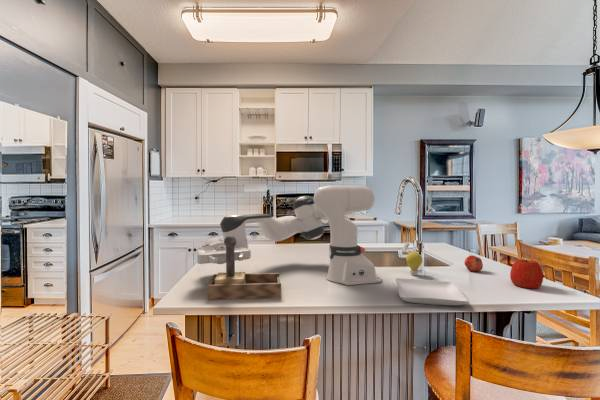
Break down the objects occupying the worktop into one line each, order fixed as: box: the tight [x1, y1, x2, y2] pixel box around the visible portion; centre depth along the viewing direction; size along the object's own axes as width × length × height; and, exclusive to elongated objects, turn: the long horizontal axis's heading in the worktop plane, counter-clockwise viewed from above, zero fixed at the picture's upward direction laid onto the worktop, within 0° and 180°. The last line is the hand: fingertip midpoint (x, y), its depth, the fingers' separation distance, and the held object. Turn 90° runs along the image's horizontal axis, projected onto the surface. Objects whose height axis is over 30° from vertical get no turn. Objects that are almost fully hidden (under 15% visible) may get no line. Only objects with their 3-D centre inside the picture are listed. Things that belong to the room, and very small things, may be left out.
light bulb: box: [405, 251, 423, 276], centre depth 145 cm, size 7×7×10 cm
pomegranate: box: [463, 254, 484, 272], centre depth 152 cm, size 7×7×10 cm
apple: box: [509, 258, 544, 290], centre depth 130 cm, size 11×11×11 cm
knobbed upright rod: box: [215, 235, 246, 284], centre depth 121 cm, size 10×9×20 cm
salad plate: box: [395, 277, 469, 307], centre depth 118 cm, size 21×21×3 cm
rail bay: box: [206, 272, 282, 301], centre depth 122 cm, size 25×14×5 cm, turn 96°
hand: (228, 259), depth 122 cm, fingers open, 8 cm apart
